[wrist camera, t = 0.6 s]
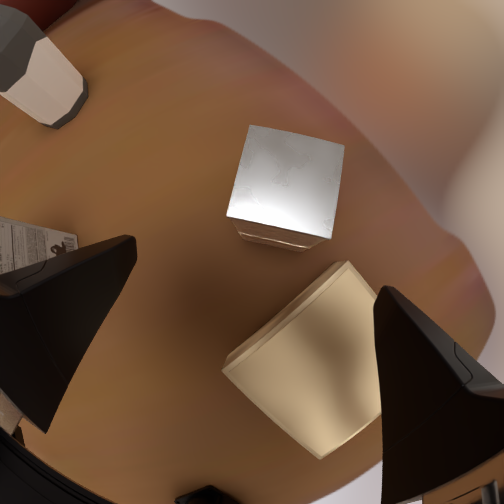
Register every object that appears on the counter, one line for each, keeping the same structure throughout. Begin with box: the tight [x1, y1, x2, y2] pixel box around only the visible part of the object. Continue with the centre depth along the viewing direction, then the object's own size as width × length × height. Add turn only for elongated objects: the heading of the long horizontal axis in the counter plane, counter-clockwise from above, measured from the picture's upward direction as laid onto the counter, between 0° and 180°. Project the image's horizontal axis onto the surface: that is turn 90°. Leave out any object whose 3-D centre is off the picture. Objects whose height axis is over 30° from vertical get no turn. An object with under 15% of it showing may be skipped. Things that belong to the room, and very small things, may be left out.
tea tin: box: [227, 125, 344, 252], centre depth 18 cm, size 5×5×10 cm
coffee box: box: [0, 216, 78, 274], centre depth 16 cm, size 9×6×16 cm
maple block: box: [221, 260, 381, 459], centre depth 20 cm, size 12×12×4 cm
